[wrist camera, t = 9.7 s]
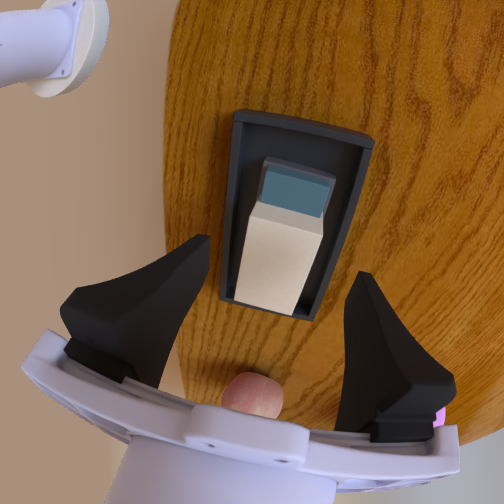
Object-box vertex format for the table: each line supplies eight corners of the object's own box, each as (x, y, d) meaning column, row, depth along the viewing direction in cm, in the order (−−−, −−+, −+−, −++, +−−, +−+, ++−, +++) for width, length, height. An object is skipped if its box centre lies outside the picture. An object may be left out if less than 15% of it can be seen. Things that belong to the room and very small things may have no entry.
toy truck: (298, 281, 24) (292, 320, 20) (244, 267, 24) (230, 303, 21) (335, 174, 18) (339, 200, 14) (266, 155, 18) (253, 176, 15)
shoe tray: (242, 108, 17) (234, 111, 15) (369, 135, 16) (375, 141, 14) (225, 286, 27) (219, 300, 25) (314, 306, 26) (313, 322, 24)
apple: (228, 354, 34) (210, 408, 27) (288, 362, 32) (278, 421, 26) (234, 382, 38) (220, 429, 32) (285, 390, 37) (276, 439, 30)
